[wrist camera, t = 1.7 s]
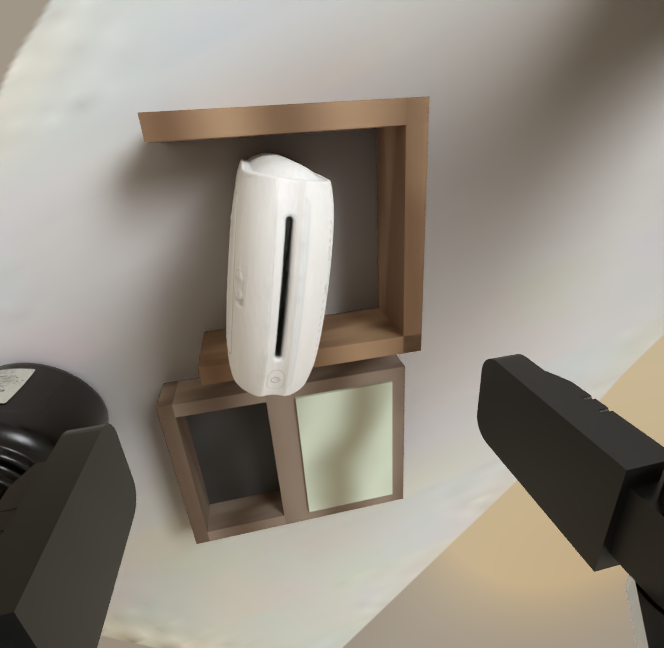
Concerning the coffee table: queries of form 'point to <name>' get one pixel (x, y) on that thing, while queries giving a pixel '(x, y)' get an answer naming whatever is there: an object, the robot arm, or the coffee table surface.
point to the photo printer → (277, 273)
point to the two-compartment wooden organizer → (286, 447)
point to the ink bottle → (40, 414)
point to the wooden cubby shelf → (393, 214)
